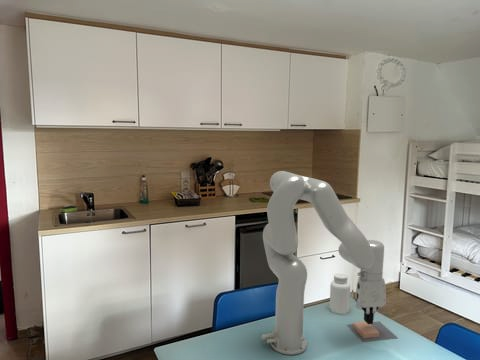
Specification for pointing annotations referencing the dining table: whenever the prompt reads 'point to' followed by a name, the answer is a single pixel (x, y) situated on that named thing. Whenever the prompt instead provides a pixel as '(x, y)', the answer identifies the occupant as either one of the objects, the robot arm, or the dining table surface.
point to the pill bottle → (340, 294)
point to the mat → (383, 331)
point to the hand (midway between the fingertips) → (368, 322)
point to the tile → (365, 329)
